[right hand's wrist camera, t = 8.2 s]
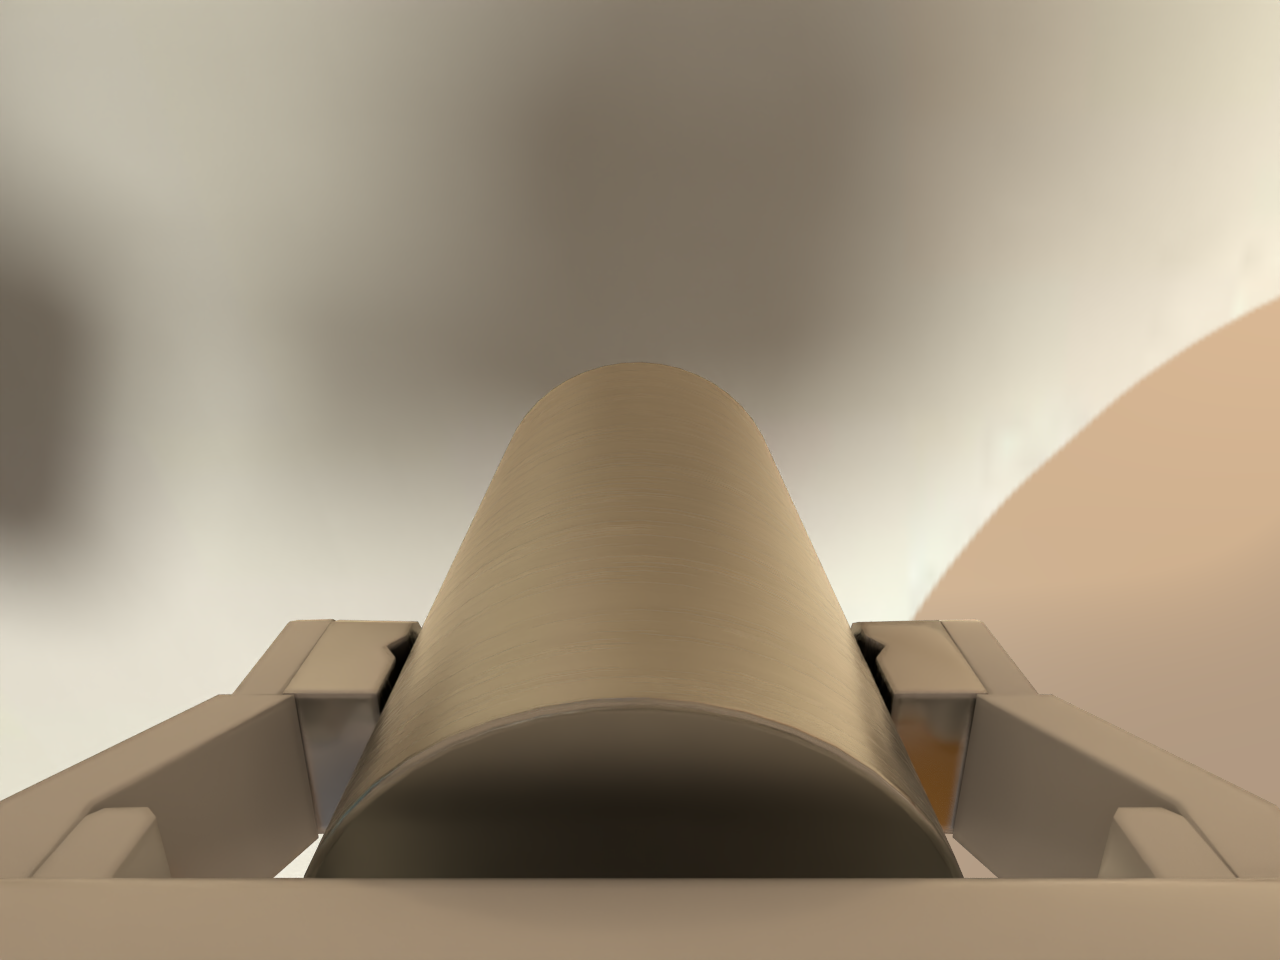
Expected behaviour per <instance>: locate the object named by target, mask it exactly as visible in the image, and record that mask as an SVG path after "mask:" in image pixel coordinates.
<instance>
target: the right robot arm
mask: <svg viewBox="0 0 1280 960" xmlns="http://www.w3.org/2000/svg"><path fill="white" fill-rule="evenodd" d="M851 630H852V633H853V635H854V637H855V639H856V641H857V644H858V646H859V648H860V650H861V652H862V655H863V657H864V659H865V661H866V663H867V665H868V668H869V670H870V672H871V674H872V676H873V679H874V681H875V683H876V685H877V687H878V690H879V692H880V694H881V696H882V698H883V700H884V703H885V705H886V707H887V709H888V711H889V714H890V716H891V718H892V720H893V722H894V724H895V727H896V729H897V731H898V733H899V735H900V738H901V740H902V742H903V744H904V746H905V749H906V751H907V753H908V755H909V757H910V759H911V762H912V764H913V766H914V768H915V770H916V773H917V775H918V777H919V779H920V781H921V783H922V786H923V788H924V790H925V792H926V794H927V797H928V799H929V801H930V803H931V805H932V808H933V810H934V812H935V814H936V816H937V818H938V821H939V823H940V825H941V827H942V829H943V832H944V834H953V838H954V839H955V840H956V841H957V842H959V843H960V844H961V845H962V846H963V847H964V848H965V849H966V850H968V851H969V852H970V853H971V854H972V855H973V856H974V857H975V858H977V859H978V860H979V861H980V862H981V863H982V864H983V865H984V866H985V867H987V868H988V869H989V870H990V871H991V872H992V873H993V874H994V875H996V876H997V877H998V878H274V877H275V876H276V875H277V874H278V873H279V872H280V871H281V870H283V869H284V868H285V867H286V866H287V865H288V864H289V863H291V862H292V861H293V860H294V859H295V858H296V857H297V856H298V855H300V854H301V853H302V852H303V851H304V850H305V849H306V848H308V847H309V846H310V845H311V844H312V843H313V842H314V841H316V840H317V839H318V834H324V833H325V831H326V829H327V827H328V824H329V822H330V820H331V818H332V816H333V814H334V812H335V810H336V808H337V805H338V803H339V801H340V799H341V797H342V795H343V793H344V791H345V789H346V786H347V784H348V782H349V780H350V778H351V776H352V774H353V772H354V770H355V768H356V765H357V763H358V761H359V759H360V757H361V755H362V753H363V751H364V749H365V746H366V744H367V742H368V740H369V738H370V736H371V734H372V732H373V730H374V727H375V725H376V723H377V721H378V719H379V717H380V715H381V713H382V711H383V709H384V706H385V704H386V702H387V700H388V698H389V696H390V694H391V692H392V690H393V687H394V685H395V683H396V681H397V679H398V677H399V675H400V673H401V671H402V668H403V666H404V664H405V662H406V660H407V658H408V656H409V654H410V652H411V650H412V647H413V645H414V643H415V641H416V639H417V637H418V635H419V633H420V631H421V626H420V625H419V623H418V621H367V620H337V621H336V620H334V619H318V620H295V621H290V622H289V623H288V624H287V625H286V626H285V628H284V629H283V630H282V631H281V633H280V634H279V635H278V637H277V638H276V639H275V640H274V642H273V643H272V644H271V645H270V647H269V648H268V649H267V651H266V652H265V653H264V654H263V656H262V657H261V658H260V659H259V661H258V662H257V663H256V665H255V666H254V667H253V668H252V670H251V671H250V672H249V673H248V675H247V676H246V677H245V679H244V680H243V681H242V682H241V684H240V685H239V686H238V688H237V689H236V690H235V691H234V693H233V694H223V695H217V696H215V697H213V698H211V699H209V700H207V701H204V702H202V703H200V704H198V705H196V706H194V707H192V708H190V709H188V710H186V711H184V712H182V713H180V714H178V715H176V716H174V717H172V718H170V719H168V720H166V721H163V722H161V723H159V724H157V725H155V726H153V727H151V728H149V729H147V730H145V731H143V732H141V733H139V734H137V735H135V736H133V737H131V738H129V739H127V740H125V741H122V742H120V743H118V744H116V745H114V746H112V747H110V748H108V749H106V750H104V751H102V752H100V753H98V754H96V755H94V756H92V757H90V758H88V759H86V760H84V761H81V762H79V763H77V764H75V765H73V766H71V767H69V768H67V769H65V770H63V771H61V772H59V773H57V774H55V775H53V776H51V777H49V778H47V779H45V780H43V781H41V782H38V783H36V784H34V785H32V786H30V787H28V788H26V789H24V790H22V791H20V792H18V793H16V794H14V795H12V796H10V797H8V798H6V799H4V800H2V801H0V960H1280V809H1279V808H1278V807H1277V806H1276V805H1274V804H1272V803H1270V802H1268V801H1266V800H1264V799H1262V798H1260V797H1258V796H1256V795H1254V794H1252V793H1250V792H1248V791H1246V790H1244V789H1242V788H1240V787H1238V786H1236V785H1234V784H1232V783H1230V782H1228V781H1226V780H1224V779H1222V778H1220V777H1218V776H1216V775H1214V774H1212V773H1210V772H1208V771H1206V770H1204V769H1202V768H1200V767H1198V766H1196V765H1194V764H1192V763H1189V762H1187V761H1185V760H1183V759H1181V758H1179V757H1177V756H1175V755H1173V754H1171V753H1169V752H1167V751H1165V750H1163V749H1161V748H1159V747H1157V746H1155V745H1153V744H1151V743H1149V742H1147V741H1145V740H1143V739H1141V738H1139V737H1137V736H1135V735H1133V734H1131V733H1129V732H1127V731H1125V730H1123V729H1121V728H1119V727H1117V726H1115V725H1113V724H1111V723H1109V722H1107V721H1105V720H1103V719H1101V718H1098V717H1096V716H1094V715H1092V714H1090V713H1088V712H1086V711H1084V710H1082V709H1080V708H1078V707H1076V706H1074V705H1072V704H1070V703H1068V702H1066V701H1064V700H1062V699H1060V698H1058V697H1056V696H1054V695H1046V694H1045V695H1044V694H1038V693H1037V692H1036V690H1035V689H1034V688H1033V686H1032V685H1031V684H1030V682H1029V681H1028V680H1027V679H1026V677H1025V676H1024V675H1023V673H1022V672H1021V671H1020V670H1019V668H1018V667H1017V666H1016V664H1015V663H1014V662H1013V660H1012V659H1011V658H1010V657H1009V655H1008V654H1007V653H1006V651H1005V650H1004V649H1003V647H1002V646H1001V645H1000V644H999V642H998V641H997V640H996V638H995V637H994V636H993V635H992V633H991V632H990V631H989V629H988V628H987V627H986V626H985V624H984V623H983V622H981V621H979V620H977V619H962V620H924V621H882V622H856V623H852V626H851Z"/></svg>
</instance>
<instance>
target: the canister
mask: <svg viewBox="0 0 1280 960" xmlns="http://www.w3.org/2000/svg"><path fill="white" fill-rule="evenodd" d="M304 878H964V877H963V875H962V872H961V870H960V868H959V865H958V863H957V860H956V858H955V856H954V854H953V851H952V849H951V847H950V845H949V843H948V841H947V838H946V836H945V834H944V832H943V829H942V827H941V825H940V823H939V821H938V818H937V816H936V814H935V812H934V810H933V808H932V805H931V803H930V801H929V799H928V797H927V794H926V792H925V790H924V788H923V786H922V783H921V781H920V779H919V777H918V775H917V773H916V770H915V768H914V766H913V764H912V762H911V759H910V757H909V755H908V753H907V751H906V749H905V746H904V744H903V742H902V740H901V738H900V735H899V733H898V731H897V729H896V727H895V724H894V722H893V720H892V718H891V716H890V714H889V711H888V709H887V707H886V705H885V703H884V700H883V698H882V696H881V694H880V692H879V690H878V687H877V685H876V683H875V681H874V679H873V676H872V674H871V672H870V670H869V668H868V665H867V663H866V661H865V659H864V657H863V655H862V652H861V650H860V648H859V646H858V644H857V641H856V639H855V637H854V635H853V633H852V630H851V628H850V626H849V624H848V622H847V620H846V617H845V615H844V613H843V611H842V609H841V606H840V604H839V602H838V600H837V598H836V596H835V593H834V591H833V589H832V587H831V585H830V582H829V580H828V578H827V576H826V574H825V571H824V569H823V567H822V565H821V563H820V561H819V558H818V556H817V554H816V552H815V550H814V547H813V545H812V543H811V541H810V539H809V536H808V534H807V532H806V530H805V528H804V526H803V523H802V521H801V519H800V517H799V515H798V512H797V510H796V508H795V506H794V504H793V502H792V499H791V497H790V495H789V493H788V491H787V488H786V486H785V484H784V482H783V480H782V477H781V475H780V473H779V471H778V469H777V467H776V464H775V462H774V460H773V458H772V456H771V453H770V451H769V449H768V447H767V445H766V443H765V440H764V438H763V436H762V434H761V432H760V431H759V429H758V428H757V426H756V424H755V423H754V421H753V420H752V418H751V417H750V416H749V415H748V413H747V412H746V411H745V410H744V408H743V407H742V406H741V405H740V404H739V403H738V402H737V401H736V400H734V399H733V398H732V397H731V396H730V395H729V394H728V393H726V392H725V391H724V390H722V389H721V388H719V387H718V386H717V385H715V384H714V383H712V382H710V381H708V380H706V379H704V378H702V377H700V376H699V375H697V374H694V373H691V372H688V371H686V370H683V369H680V368H676V367H672V366H667V365H663V364H656V363H645V362H634V363H619V364H613V365H607V366H602V367H599V368H596V369H592V370H589V371H586V372H584V373H581V374H579V375H577V376H575V377H573V378H570V379H568V380H567V381H565V382H563V383H562V384H560V385H559V386H557V387H556V388H554V389H552V390H551V391H550V392H549V393H548V394H546V395H545V396H544V397H543V398H542V399H540V400H539V401H538V402H537V403H536V404H535V406H534V407H533V408H532V409H531V410H530V411H529V412H528V413H527V414H526V416H525V417H524V419H523V420H522V422H521V423H520V425H519V426H518V427H517V429H516V431H515V433H514V435H513V437H512V439H511V441H510V443H509V445H508V447H507V449H506V451H505V454H504V456H503V458H502V460H501V462H500V464H499V466H498V468H497V470H496V472H495V475H494V477H493V479H492V481H491V483H490V485H489V487H488V489H487V491H486V494H485V496H484V498H483V500H482V502H481V504H480V506H479V508H478V510H477V513H476V515H475V517H474V519H473V521H472V523H471V525H470V527H469V529H468V531H467V534H466V536H465V538H464V540H463V542H462V544H461V546H460V548H459V550H458V553H457V555H456V557H455V559H454V561H453V563H452V565H451V567H450V569H449V572H448V574H447V576H446V578H445V580H444V582H443V584H442V586H441V588H440V591H439V593H438V595H437V597H436V599H435V601H434V603H433V605H432V607H431V609H430V612H429V614H428V616H427V618H426V620H425V622H424V624H423V626H422V628H421V631H420V633H419V635H418V637H417V639H416V641H415V643H414V645H413V647H412V650H411V652H410V654H409V656H408V658H407V660H406V662H405V664H404V666H403V668H402V671H401V673H400V675H399V677H398V679H397V681H396V683H395V685H394V687H393V690H392V692H391V694H390V696H389V698H388V700H387V702H386V704H385V706H384V709H383V711H382V713H381V715H380V717H379V719H378V721H377V723H376V725H375V727H374V730H373V732H372V734H371V736H370V738H369V740H368V742H367V744H366V746H365V749H364V751H363V753H362V755H361V757H360V759H359V761H358V763H357V765H356V768H355V770H354V772H353V774H352V776H351V778H350V780H349V782H348V784H347V786H346V789H345V791H344V793H343V795H342V797H341V799H340V801H339V803H338V805H337V808H336V810H335V812H334V814H333V816H332V818H331V820H330V822H329V824H328V827H327V829H326V831H325V833H324V835H323V837H322V839H321V841H320V843H319V846H318V848H317V850H316V852H315V854H314V856H313V858H312V860H311V862H310V864H309V867H308V869H307V871H306V873H305V875H304Z"/></svg>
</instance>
